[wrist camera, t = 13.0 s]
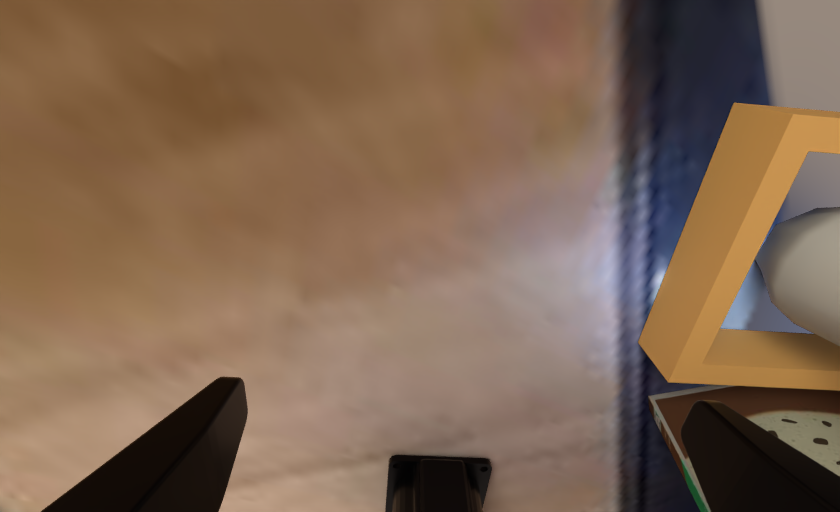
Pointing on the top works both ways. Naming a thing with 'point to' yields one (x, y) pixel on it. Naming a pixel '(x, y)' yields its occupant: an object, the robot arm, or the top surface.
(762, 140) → the orange and green frame
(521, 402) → the top surface
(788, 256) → the salt shaker
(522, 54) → the top surface
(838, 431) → the food container
